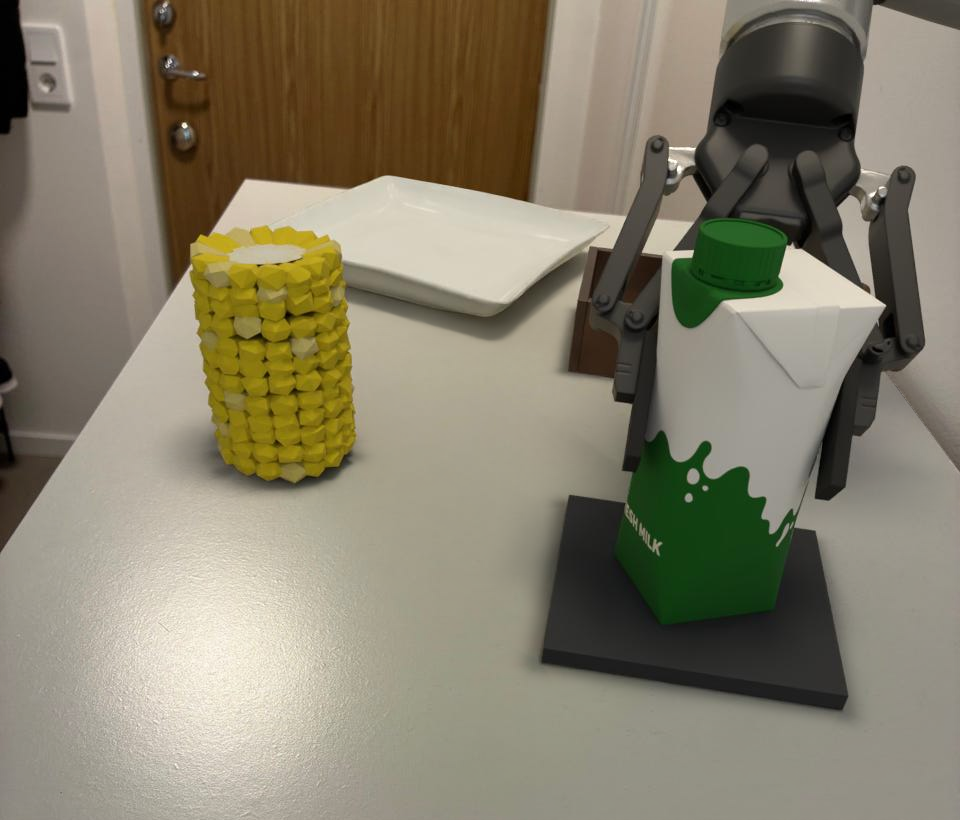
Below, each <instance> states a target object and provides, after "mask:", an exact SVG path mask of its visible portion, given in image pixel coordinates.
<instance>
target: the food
mask: <svg viewBox="0 0 960 820" xmlns="http://www.w3.org/2000/svg"><path fill="white" fill-rule="evenodd" d="M268 226H269V225H266V224H265V225H262V226H257V227H253V228H250V231H249V230H247V229H245V228H240V227H237V226H234V227H233V228H232V229H231V230H229V231H228V232H227V233H226V234H222V233H218V232H212V233H211V234H210V235H209V236H206V235H203V234H199V236H198V237H197V239H196V240H195V241H194V242H192V243H190V245H189V246H190V247H189V264H191V265H192V270H190V271H189V272H188V274H189V278H190V283H191V284H192V287H193V289H194V291H193V293H191V294H192V295H191V296H192V298H193V299H194V300H193V301H194V302H193V303H194V304H193V306H194V316H195V318H194V319H195V320H196V321H198V323H199V325H198V328H197V330H196V335H198V337H199V339H200V342H199V345H198V347H199V351H200V353H201V356H202V359H203V360H202V372H203V373H204V375H205V376H206V377H205V380H204V385H205V386H206V388H207V389H208V391H209V393H208V398H207V399H208V400H207V405H208V406H209V407H210V408H211V412H212V415H211V419H210V422H211V423H212V424H214V426H215V427H216V428H215V430H214V432H213V433H214V436H215V439H216V441H217V450H218V451H219V452H220V455H221V457H222V458H223V461H224V462H225V464H226V465H227V466H233V467H235V469H236V470H237V471H238V472H239V473H242V474H243V475H246V476H251V475H253V474H255V473H256V476H257V477H259V478H261V479H263V480H265V481H267V482H270V481H273V480H276V479H278V478H281V479H282V480H285V481H287V482H289V483H291V484H293V485H295V484H297V483H298V482H299V481H301V480H302V479H304V478H305V477H306V476H309V477H316V478H319V477H320V476H321V475H322V474H323V472H324V471H325V469H326V468H334V467H340V465H341V462H342V460H343V458H344V456H345V455H348V453H349V452H351V450H352V449H353V447H354V445H355V443H356V441H357V439H356V437H357V433H356V431H355V430H356V429H357V427H356V419H355V414H356V408H355V404H354V397H353V394H354V391H355V386H354V384H353V378H352V374H351V372H352V370H353V362H352V361H353V359H352V358H353V357H352V353H351V352H350V350H351V349H352V347H351V342H350V338H349V334H348V330H349V328H350V325H351V322H350V319H349V318H348V317H347V312H348V310H349V305H348V302H347V300H346V297H345V292H346V288H347V286H346V284H347V283H346V282H344V281H343V267H344V265H343V264H342V262H341V260H342V252H341V245H340V244H339V243H338V242H336V241H335V240H334V239H333V240H330V238H329V236H328V234H327V235H325V236H323V237H320V238H318V237H317V236H316V235H315V233H314V232H313V231H298V232H297V231H296V230H294V229H293V228H291V227H290V226H286V227H282V228H278V229H274V232H272V230H271V229H270V228H269V227H268Z"/></svg>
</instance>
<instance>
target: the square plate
mask: <svg viewBox="0 0 960 820" xmlns="http://www.w3.org/2000/svg"><path fill="white" fill-rule="evenodd" d="M267 226H268V227H269V228H270V229H271V230H272V232H274V229H278V228H282V227H286V226H290V227H291V228H293V229H294V230H296V231H297V232H298V231H313V232H314V233H315V235H316V236H317V237H318V238H320V237H323V236H325V235H327V234H328V236H329V238H330V240H333V239H334V240H335V241H336V242H338V243H339V244H340V245H341V252H342V260H341V262H342V264H343V265H344V267H343V281H344V282H346V283H347V284H346V287H350V288H354V289H358V290H362V291H366V292H370V293H374V294H378V295H381V296H386V297H390V298H393V299H396V300H400V301H405V302H408V303H412V304H415V305H419V306H423V307H427V308H430V309H436V310H439V311H445V312H449V313H450V312H451V313H458V314H459V313H460V314H467V315H471V316H477V317H481V318H482V317H484V318H487V317H492V316H495V315H497V314H499V313H501V312H503V311H504V310H505V309H507V308H508V307H509V306H511V305H512V304H514V303H515V302H516V301H517V300H518V299H519V298H520V297H521V296H523V294H524V293H526V292H527V291H528V290H529V289H530V288H531V287H532V286H534V285H535V284H536V283H537V282H539V281H540V280H542V279H543V278H544V277H545V276H547V275H548V274H550V273H551V272H553V271H554V270H555V269H557V268H558V267H560V266H561V265H563V264H564V263H566V262H568V261H569V260H571V259H572V258H573V257H575V256H577V255H578V254H580V253H581V252H582V251H583V250H585V249H586V248H587V247H588V246H589V245H591V244H592V243H593V242H594V241H595V240H596V239H597V238H598V237H599V236H601V235H603V234H604V233H605V232H607V231H608V230H609V229H610V227H611V225H610V223H609V222H607V221H604V220H601V219H600V220H599V219H595V218H592V217H587V216H585V215H584V216H583V215H579V214H576V213H572V212H569V211H568V212H567V211H564V210H560V209H556V208H552V207H548V206H545V205H541V204H538V203H537V204H536V203H533V202H528V201H524V200H520V199H516V198H511V197H507V196H503V195H497V194H493V193H489V192H484V191H478V190H474V189H467V188H463V187H457V186H453V185H446V184H441V183H436V182H429V181H423V180H417V179H412V178H406V177H402V176H401V177H400V176H396V175H382V176H380V177H379V176H378V177H376V178H374V179H372V180H370V181H368V182H364V183H362V184H359V185H357V186H354V187H351V188H348V189H347V190H345V191H342V192H340V193H337V194H335V195H332V196H330V197H328V198H326V199H323V200H321V201H319V202H316V203H314V204H312V205H310V206H308V207H305V208H303V209H301V210H299V211H297V212H295V213H292V214H290V215H288V216H286V217H283V218H282V219H279V220H277V221H275V222H274V223H273V222H272V223H271V224H269V225H267Z"/></svg>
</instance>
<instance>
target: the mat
mask: <svg viewBox="0 0 960 820" xmlns="http://www.w3.org/2000/svg"><path fill="white" fill-rule="evenodd" d="M566 504H567V505H566V510H565V517H564V522H563V528H562V534H561V535H562V536H561V539H560V547H559V551H558V557H557V564H556V570H555V576H554V582H553V588H552V594H551V600H550V606H549V612H548V619H547V623H546V630H545V636H544V642H543V648H542V654H541V662H542V663H547V664H554V665H560V666H566V667H571V668H572V667H573V668H578V669H585V670H590V671H598V672H604V673H610V674H615V675H623V676H629V677H634V678H635V677H636V678H640V679H641V678H642V679H647V680H654V681H661V682H667V683H674V684H679V685H686V686H693V687H698V688H705V689H712V690H717V691H723V692H731V693H735V694H736V693H737V694H744V695H749V696H755V697H761V698H768V699H774V700H780V701H787V702H793V703H798V704H799V703H800V704H805V705H812V706H818V707H819V706H820V707H824V708H829V709H830V708H831V709H837V710H844V708H845V706H846V703H847V701H848V699H849V692H848V686H847V681H846V675H845V671H844V667H843V662H842V656H841V651H840V646H839V642H838V637H837V631H836V626H835V622H834V617H833V612H832V607H831V601H830V597H829V592H828V587H827V582H826V581H827V580H826V576H825V572H824V571H825V570H824V566H823V562H822V556H821V551H820V546H819V541H818V536H817V531H816V530H814V529H807V528H800V527H796V526H794V530H793V534H792V538H791V542H790V546H789V550H788V554H787V558H786V562H785V566H784V570H783V574H782V578H781V582H780V586H779V590H778V594H777V598H776V602H775V606H774V610H769V611H762V612H755V613H748V614H740V615H733V616H726V617H719V618H712V619H704V620H697V621H690V622H683V623H675V624H668V625H661V624H660V622H659V621H658V619H657V618H656V616H655V615H654V613H653V612H652V610H651V609H650V607H649V606H648V605H647V603H646V602H645V600H644V599H643V597H642V596H641V594H640V593H639V591H638V590H637V588H636V587H635V585H634V584H633V582H632V581H631V579H630V578H629V576H628V575H627V573H626V572H625V570H624V569H623V567H622V566H621V564H620V563H619V561H618V560H617V558H616V557H615V555H614V551H615V547H616V542H617V538H618V534H619V530H620V526H621V522H622V517H623V513H624V509H625V505H626V502H622V501H615V500H610V499H601V498H595V497H588V496H582V495H575V494H568V500H567V503H566Z"/></svg>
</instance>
